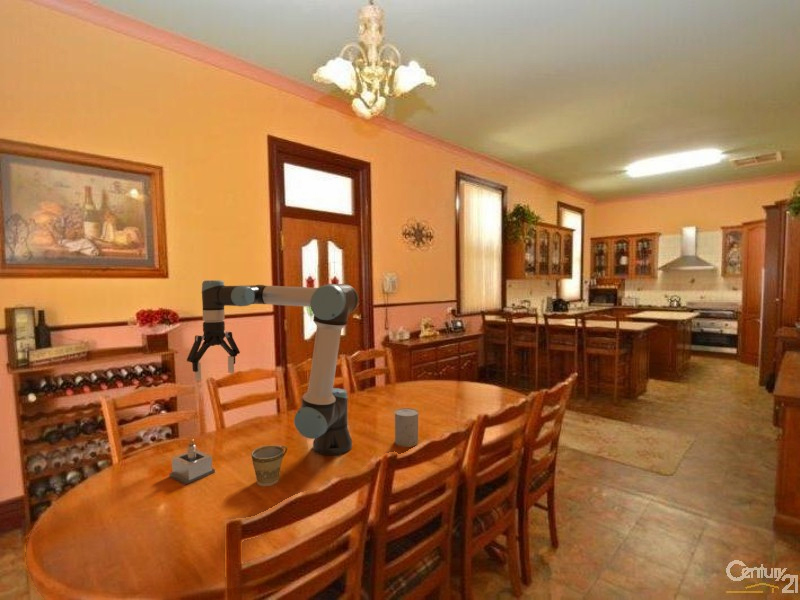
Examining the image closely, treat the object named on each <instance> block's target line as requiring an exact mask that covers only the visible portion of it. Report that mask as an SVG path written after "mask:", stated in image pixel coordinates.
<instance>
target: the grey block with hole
mask: <svg viewBox="0 0 800 600" xmlns="http://www.w3.org/2000/svg"><path fill="white" fill-rule="evenodd" d="M212 468H213V457H212V455H210V454H207V453H206V452H203V451H200V450H198V449H196V460H195V461H193V462H188V451H186V452H184V453H182V454H178V455H176V456H173V457H171V469H172V472H173V473H175V474H177V475H179V476H181V477H183V478H185V479H187V480H191V479H194V478H196V477H198V476H201V475H203V474H205V473H207V472H210V471H212ZM172 472H171V473H172Z"/></svg>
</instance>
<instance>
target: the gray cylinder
mask: <svg viewBox="0 0 800 600" xmlns="http://www.w3.org/2000/svg"><path fill="white" fill-rule="evenodd" d="M394 443H395V444H396V446H399V447H405V448H409V447H415V446H417V445H418V444H419V410H417V409H415V408H410V407H409V408H405V407H404V408H398V409H396V410H394Z"/></svg>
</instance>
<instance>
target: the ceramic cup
mask: <svg viewBox="0 0 800 600" xmlns="http://www.w3.org/2000/svg"><path fill="white" fill-rule="evenodd" d="M284 448H285V449H284ZM287 451H288V447H287V446H286V445H282V446H280V445H276V444H275V445H274V444H273V445H272V444H271V445H270V444H269V445H263V446H260V447H257V448H255V449H254V450H253V451H252V452H251V459H252V460H251V461H252V465H253V469H254V473H255V477H256V483H257V485H258V486H260V487H270V486H274V485H275V484H278V482H279V478H280V472H281V466H282V463H283V459H284V457H285V456H286V453H287Z"/></svg>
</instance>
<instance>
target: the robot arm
mask: <svg viewBox="0 0 800 600" xmlns="http://www.w3.org/2000/svg"><path fill="white" fill-rule="evenodd" d="M201 300H202V301H201V302H202V321H203V322H202V331H203V335H195V336H194V342H193V344H192V347H191V348H190V351H189V353H188V356H187V358H186V362H188V363H192V364H191V365H192V372H193V373H194V380H195V381H199V382H200V381H202V369H201V365H202V363H201V362H200V360H201V359H202V358H203V357H204V355H205V353H206V351H208V349H209V348H210V347H214V346H221V347H222V348H223V350H224V351H225V352H226V353H227V354H228V355H229V356H227V372H228V373H230V374H234V373H235V364H236V357H237V356H238V355H239V354H240V353H241V351H240V350H239V348H238V345H237V344H236V342H235V339H234V336H233V332H232V331H225V330H226V327H225V325H226V322H225V321H224V320H225V319H226V317H225V306H229V307H230V306H231V307H232V306H233V307H247V306H248V307H249V306H251V305H274V306H287V307H289V306H291V307H304V308H305V307H308V308H310V309H311V311H312V313H313V319H312V320H313V323H315V325H316V331H315V338H314V346H313V353H312V358H311V367H310V372H309V379H308V387H307V388H308V389H307V391H306V392H305V393H303V395H302V397H301V398H302V399H301V405H300V406H301V407H300V408H299V409H298V410H297V411H296V412H295V415H294V419H293V424H294V427H295V429H296V430H297V431H298V433H299V434H300V435H301V436H302V437H304V438H307V439H309V440H310V439H311V440H312V439H313V441H312V450H313V452H314V453H316V454H318V455H322V456H337V455H341V454H344V453H347V452H348V451H350V450H351V449H352V448H353V440H352V437H351V434H350V430H349V428H348V399H349V398H348V391H347V390H346V389H343V388H338V387H337V388H336V387H334V383H335V378H336V377H335V376H336V370H337V364H338V363H337V362H338V356H339V350H340V343H341V336H342V330H343V329H344V328H345V327H346V326H347V325H348V319H349V315H350V314H352V313H353V312H354V311H355V310H356V309H357V308H358V306H359V300H360V299H359V294H358V292H357V291H356V289H355V288H354V287H353V286H351V285H349V284H347V283H329V284H324V285H322V286H319V287H310V286H309V287H308V286H307V287H306V286H283V285H282V286H281V285H264V284H257V285H256V284H254V285H225V283H224V281H223V280H218V279H217V280H204V281H202V283H201ZM225 338H226V340H225ZM226 341H227V342H226ZM202 342H203V343H202Z"/></svg>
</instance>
